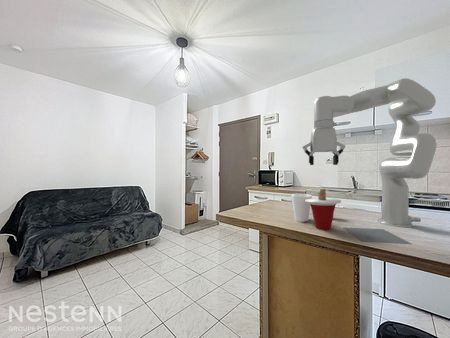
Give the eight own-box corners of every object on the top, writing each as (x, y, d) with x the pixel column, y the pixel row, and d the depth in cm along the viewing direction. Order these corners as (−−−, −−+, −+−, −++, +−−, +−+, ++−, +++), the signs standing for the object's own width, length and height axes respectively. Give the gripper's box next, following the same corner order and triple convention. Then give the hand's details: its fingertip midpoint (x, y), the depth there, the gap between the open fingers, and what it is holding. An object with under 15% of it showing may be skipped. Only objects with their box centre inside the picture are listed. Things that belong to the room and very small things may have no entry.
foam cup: (314, 223, 94) (314, 196, 94) (295, 223, 95) (295, 196, 94) (306, 217, 104) (306, 193, 104) (289, 217, 104) (289, 193, 104)
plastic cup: (322, 224, 92) (322, 199, 92) (342, 231, 82) (342, 203, 82) (303, 226, 89) (303, 200, 89) (322, 234, 79) (322, 205, 78)
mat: (383, 230, 83) (383, 229, 83) (412, 245, 67) (412, 243, 67) (342, 228, 86) (342, 227, 86) (361, 242, 70) (361, 241, 70)
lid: (333, 200, 91) (332, 188, 92) (347, 203, 77) (346, 190, 78) (301, 200, 93) (301, 189, 94) (310, 204, 80) (309, 191, 80)
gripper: (341, 126, 87) (341, 164, 88) (300, 128, 90) (300, 165, 91) (348, 123, 80) (348, 164, 80) (304, 125, 83) (304, 165, 83)
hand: (323, 164), depth 85 cm, fingers open, 9 cm apart
